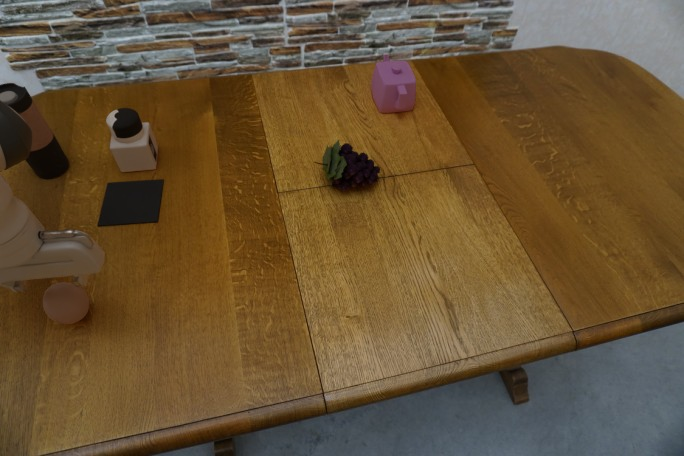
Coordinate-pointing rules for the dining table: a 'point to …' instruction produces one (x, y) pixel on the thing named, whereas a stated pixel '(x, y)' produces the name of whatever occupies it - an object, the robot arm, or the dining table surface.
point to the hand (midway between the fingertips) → (52, 285)
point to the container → (131, 141)
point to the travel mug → (36, 133)
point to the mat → (131, 202)
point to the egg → (65, 303)
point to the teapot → (393, 86)
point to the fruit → (348, 167)
